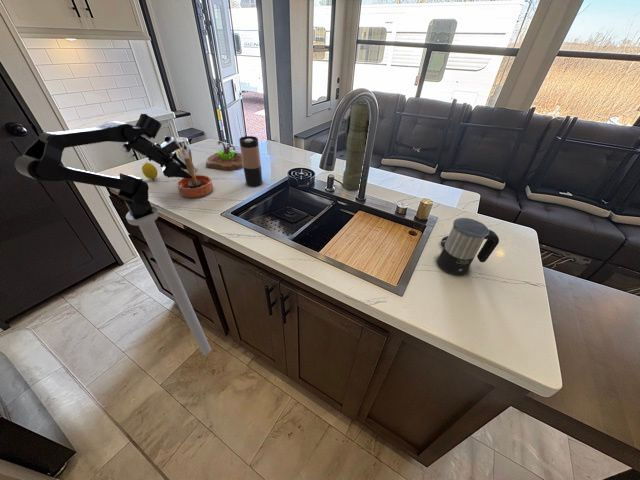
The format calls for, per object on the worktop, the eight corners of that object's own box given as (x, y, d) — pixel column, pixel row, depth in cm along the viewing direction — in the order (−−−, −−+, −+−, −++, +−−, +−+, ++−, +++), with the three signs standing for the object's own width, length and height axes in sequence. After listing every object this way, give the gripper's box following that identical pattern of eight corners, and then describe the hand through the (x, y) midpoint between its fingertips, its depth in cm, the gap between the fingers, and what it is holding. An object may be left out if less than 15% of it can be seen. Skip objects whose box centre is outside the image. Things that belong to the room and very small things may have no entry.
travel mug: (255, 178, 121) (250, 134, 109) (266, 183, 118) (261, 139, 105) (242, 183, 117) (235, 138, 104) (253, 188, 113) (246, 143, 100)
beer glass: (182, 168, 126) (172, 137, 117) (197, 167, 128) (188, 136, 119) (180, 174, 121) (170, 142, 112) (196, 173, 123) (187, 141, 114)
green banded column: (359, 193, 113) (372, 107, 92) (336, 186, 118) (343, 102, 96) (367, 186, 119) (381, 103, 98) (345, 179, 124) (354, 99, 102)
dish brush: (193, 193, 106) (183, 161, 97) (187, 189, 108) (177, 157, 99) (204, 189, 109) (196, 157, 100) (198, 185, 111) (189, 154, 103)
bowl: (190, 202, 102) (186, 192, 99) (174, 191, 108) (170, 181, 105) (219, 191, 110) (217, 181, 107) (203, 181, 116) (200, 172, 114)
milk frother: (448, 278, 75) (469, 239, 66) (418, 245, 87) (432, 207, 77) (487, 270, 78) (512, 231, 69) (453, 239, 90) (470, 202, 81)
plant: (215, 154, 142) (211, 134, 135) (250, 156, 142) (247, 136, 135) (201, 169, 127) (195, 146, 120) (240, 171, 126) (236, 149, 119)
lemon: (162, 178, 117) (156, 162, 112) (150, 183, 113) (143, 166, 108) (155, 175, 119) (148, 159, 114) (143, 180, 115) (136, 162, 110)
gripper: (162, 139, 85) (205, 165, 96) (159, 124, 97) (197, 150, 108) (144, 165, 86) (188, 188, 98) (143, 148, 99) (182, 170, 110)
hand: (189, 173), depth 103 cm, fingers open, 9 cm apart
